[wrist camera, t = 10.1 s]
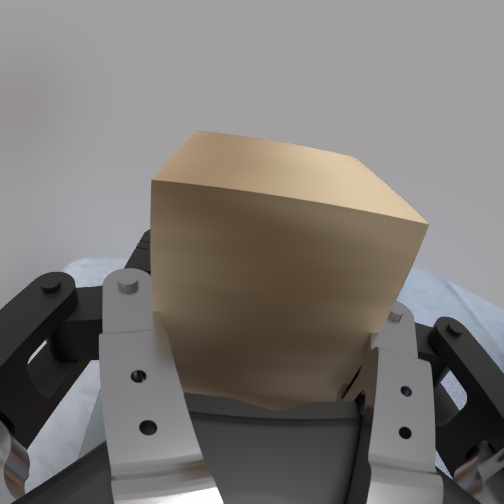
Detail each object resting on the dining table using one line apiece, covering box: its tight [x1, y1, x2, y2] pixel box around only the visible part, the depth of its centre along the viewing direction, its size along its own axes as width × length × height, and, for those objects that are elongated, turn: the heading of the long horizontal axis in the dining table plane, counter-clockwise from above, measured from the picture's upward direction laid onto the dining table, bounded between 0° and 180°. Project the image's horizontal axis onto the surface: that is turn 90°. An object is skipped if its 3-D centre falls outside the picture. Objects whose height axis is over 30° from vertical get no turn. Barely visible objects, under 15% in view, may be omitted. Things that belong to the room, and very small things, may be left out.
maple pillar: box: [150, 131, 429, 410], centre depth 10 cm, size 5×5×10 cm
